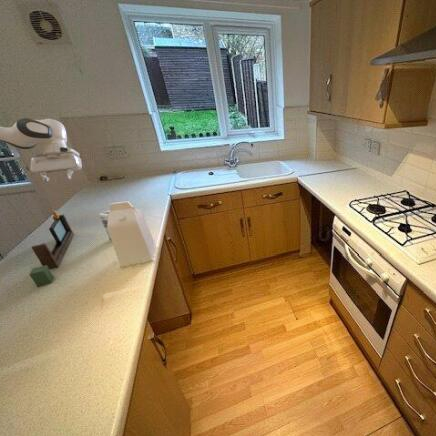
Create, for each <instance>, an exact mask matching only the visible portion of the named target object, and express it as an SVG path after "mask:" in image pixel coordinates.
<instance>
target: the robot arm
mask: <svg viewBox="0 0 436 436" xmlns="http://www.w3.org/2000/svg"><path fill="white" fill-rule="evenodd" d="M0 142H3V143H5V144H8V145H10V146H12V147H15V148H17V149H21V150H31V149H33V148H35V147H36V146H37V144H41V145H42V146H41V147H42V153H41V154H34V155H33V156H32V157H31V160H30V166H29V167H30V169H29V170H30V171H31V173H33V174H36V175H40V176H41V177H42V181H43V182H45V183H48V182H51V179H50V177H48V176H47V175H48V174H53V173H61V172H67V173H66V174H64V178H65V180H71V179H72V176H73V174H74V172H75V171H80V170H81V169H82V168H83V163H82V159H81V157H80V156H81V154H80V152H78V151H77V150H75V149H73V148H71V147H68V145H67V144H68V143H67V142H68V135H67V130H66V127H65V126H64V124H63V123H62V122H60V121H58V120H57V119H54V118H44V119H34V118H33V119H32V118H28V117H23V118H20V119H18V120H17V121H16V122H15V123H14V124H13V125H12V126H9V127H8V126H7V127H4V126H1V125H0Z"/></svg>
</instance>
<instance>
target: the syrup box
mask: <svg viewBox="0 0 436 436" xmlns="http://www.w3.org/2000/svg"><path fill="white" fill-rule="evenodd" d="M109 212H110V209H108V210H105V211H103V212H101V213H99V217H100V220H101V222H102V225H103V228H104V230H105V233H106V235H107V237H108V240H109V241H110V242H112V241H111V238H110V235H109V232H108V228H107V223H108V217H109Z"/></svg>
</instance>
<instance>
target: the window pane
mask: <svg viewBox="0 0 436 436" xmlns="http://www.w3.org/2000/svg"><path fill="white" fill-rule="evenodd" d="M51 214H52V217H53V216H54V217H55V220H54V219H53V220H54V221H53V222H52V224H51V225H50V226H49V228H48V230H49V232H50V234H51V236H52V237H53V240H54V241H55V243H57V244H58V246H59V245H61V243H62V241H63V239H64V238H65V236H66V234H67V230H66V228H65V226H64V224H63V222H62V220H61V218H60V217H59V216H58V215H59V214H58V212H57V210H56V209H53V210H51Z"/></svg>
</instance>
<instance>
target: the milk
mask: <svg viewBox="0 0 436 436" xmlns="http://www.w3.org/2000/svg"><path fill="white" fill-rule="evenodd" d="M109 210H110V212H109V217H108V223H107V228H108V232H109V235H110V238H111V241H110V242H111V243H112V246H113V249H114V252H115V255H116V258H117V262H118V264H119V267H120V268H122V267H128V266H132V265H133V266H134V265H138V264H139V265H140V263H139V262H142V263H147V262H153V261H154V260H153V259H154V256H155V252H156V250H157V245H156V243H155V240H154V238H153V236H152V233H151V230H150V227H149V225H148V223H147V220H146V218H145V215H144V213H143V212H142V211H141V210H140V209H138V208H137V207H135V206H134V205H133V204H132V203H131V202H130V201H129V200H125V201H117V202H116V201H115V202H111V203H110V204H109ZM145 261H147V262H145ZM135 263H137V264H135ZM142 263H141V264H142ZM130 264H132V265H130Z"/></svg>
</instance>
